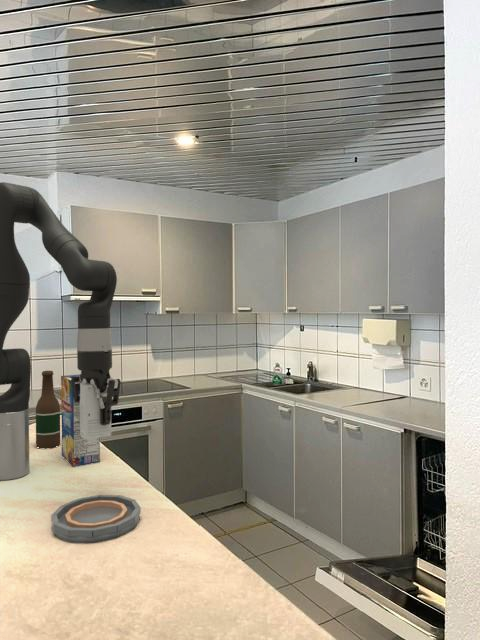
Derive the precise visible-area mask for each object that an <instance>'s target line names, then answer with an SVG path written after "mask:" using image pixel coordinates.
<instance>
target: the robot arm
mask: <svg viewBox="0 0 480 640" xmlns="http://www.w3.org/2000/svg"><path fill="white" fill-rule="evenodd" d="M15 223H18V224H30V225H31V226H33V227H35V228H36V229H38V230H39V231H40V232H41V240H42V245H43V247H44V249H45V250H46V252H47V253H48V254H49V255H50V256H51V257H52V259H54V261H56V262H57V263H58V264H59V266H61V268H62V271H63V274H65V275H64V276H65V277H66V279H67V281H68V282H69V283H70V285H71V286H73V287H74V288H75V289H76V290H79V291H82V292H91V296H90V298H89V301H85V302H82V303H80V304H79V305H78V308H77V335H76V336H77V338H76V355H77V356H76V357H77V358H76V359H77V361H76V362H77V363H76V365H77V369H78V371H80V374H79V375H80V376H73V377H71V382H72V389H73V396H74V401H75V402H78V403H79V404H80V396H78V391H80V383H82V384H88V383H90V384H91V385H92V387H93V390H94V393H95V396H96V399H98V400H99V403H100V407H101V408H102V409H100V424H101V425H108V424H110V421H111V422H112V407H113V406H117V405H118V404H119V398H120V392H121V391H120V389H121V379H120V378H113V377H111V374H110V370H111V369H112V368H113V344H112V343H113V342H112V341H113V339H112V334H111V332H112V331H111V308H112V304H113V300H114V298H115V297H114V296H115V292H116V289H117V282H118V278H117V271H116V270H115V268H114V267H115V266H113V265H112V264H111V263H110V262H108V261H106V260H105V261H104V260H95V259H89V251H88V249H87V248H86V246H85V245H84V243H82V242H81V241H80V240H79V239H78V238H77V237H76V236H75V235H74V234H73V233H71V232H70V230H68V228H66V226H65V225H64V224H63V223H62V222H61V221H60V218H58V216H57V215H56V213H55V212H54V210H53V209H52V208H51V207H50V205H49V204H48V202H47V201H46V199H45V198H44V197H43V195H42V194H41V193H40V192H39V191H38V190H37V189H36V188H32V187H30V186H26V185H20V184H16V183H11V182H6V181H5V182H4V181H3V182H0V386H4V385H10V387H9V388H8V390H6V391H5V392H4V393H3V394H0V481H7V480H15V479H18V478H22V477H24V476H27V475H28V474H29V473H30V415H29V414H30V412H29V411H30V410H29V409H30V407H29V406H30V405H29V402H30V397H31V378H32V377H31V374H32V364H31V363H32V361H31V356H30V354H29V352H28V351H27V349H25V348H4V344H5V340H6V338H7V334H8V333H9V330H10V329H11V327H12V326H13V324H14V323H15V322H16V321H17V319H18V318H19V317H20V315H21V314H22V312H23V311H24V310H25V308H26V307H27V304H28V303H29V300H30V299H29V297H30V285H31V284H30V283H31V277H30V276H31V275H30V272H29V270H28V267H27V265H26V263H25V261H24V259H23V258H22V256H21V254H20V251H19V249H18V247H17V245H16V239H15ZM3 348H4V349H3ZM106 388H107V393H105V394H101V393H103V392H105V390H106ZM104 398H105V399H106V402H105V401H104Z"/></svg>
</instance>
